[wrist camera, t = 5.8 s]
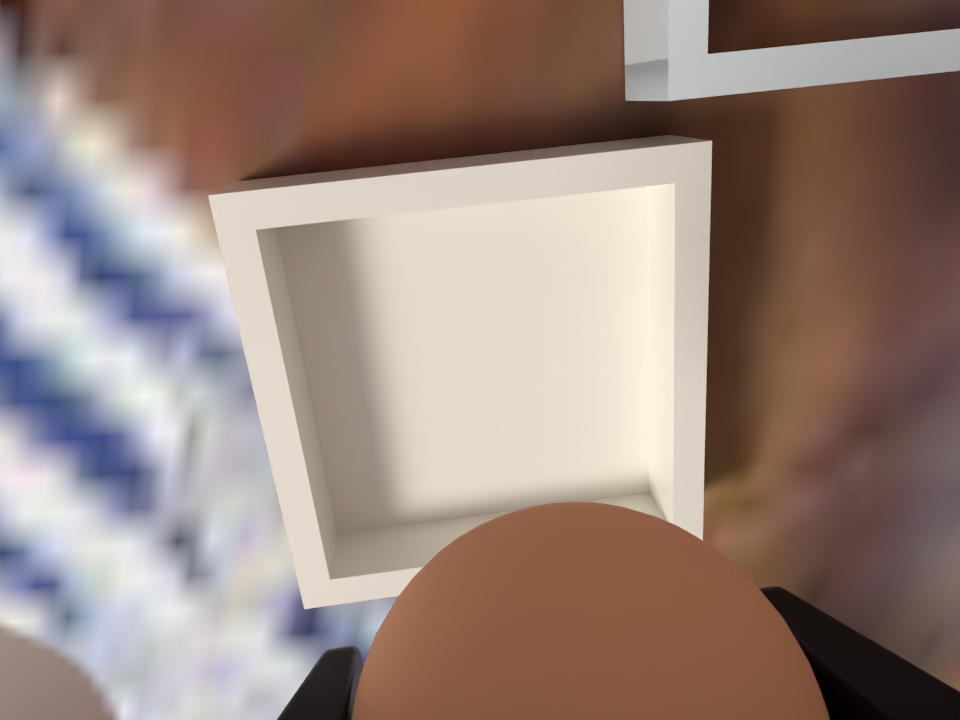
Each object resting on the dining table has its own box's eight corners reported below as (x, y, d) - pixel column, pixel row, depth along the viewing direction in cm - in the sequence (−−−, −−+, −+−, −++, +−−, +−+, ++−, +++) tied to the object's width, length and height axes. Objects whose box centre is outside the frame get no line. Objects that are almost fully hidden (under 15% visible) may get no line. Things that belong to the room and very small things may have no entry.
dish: (669, 134, 17) (712, 140, 15) (668, 501, 21) (702, 553, 19) (237, 180, 17) (207, 195, 14) (317, 548, 20) (304, 608, 18)
